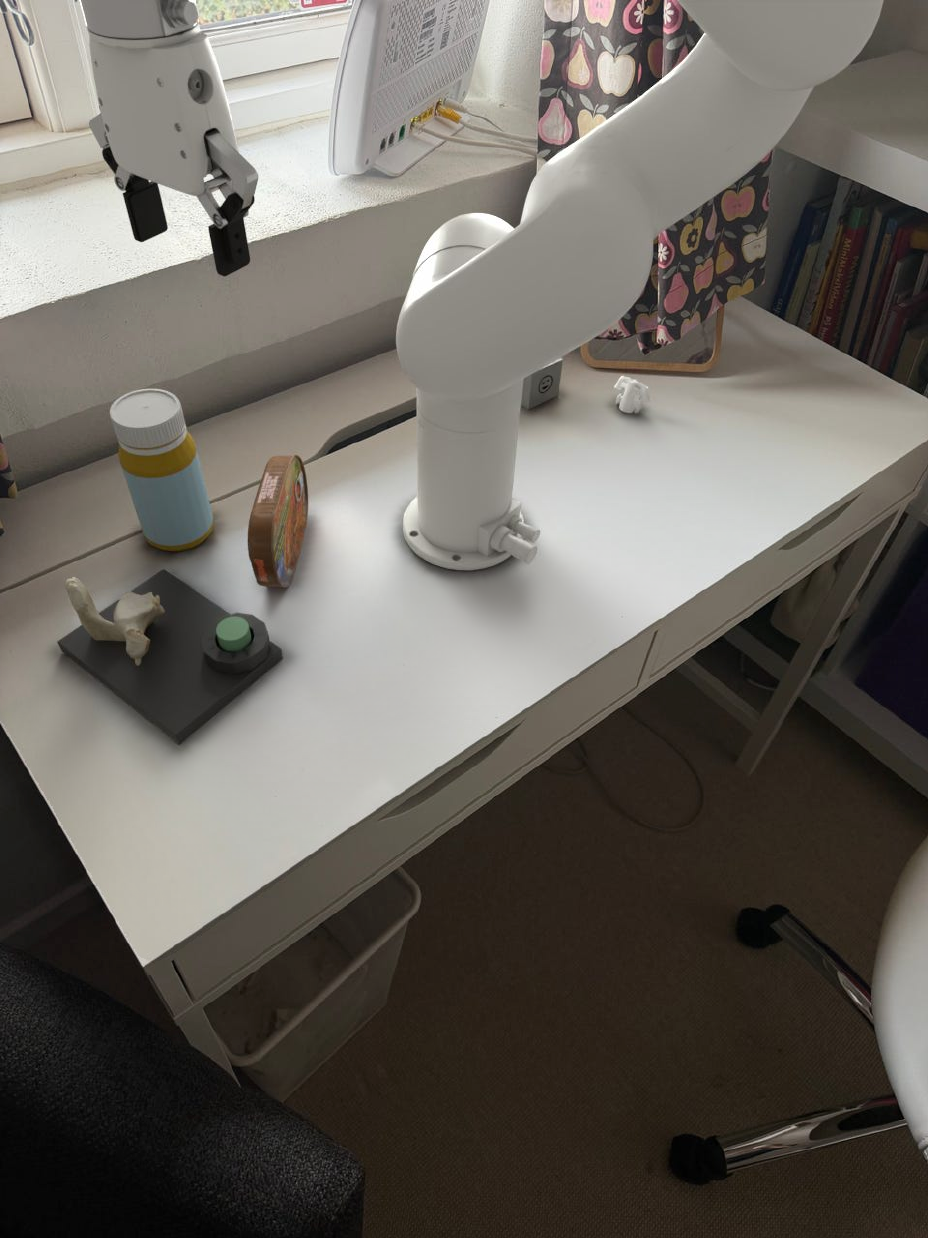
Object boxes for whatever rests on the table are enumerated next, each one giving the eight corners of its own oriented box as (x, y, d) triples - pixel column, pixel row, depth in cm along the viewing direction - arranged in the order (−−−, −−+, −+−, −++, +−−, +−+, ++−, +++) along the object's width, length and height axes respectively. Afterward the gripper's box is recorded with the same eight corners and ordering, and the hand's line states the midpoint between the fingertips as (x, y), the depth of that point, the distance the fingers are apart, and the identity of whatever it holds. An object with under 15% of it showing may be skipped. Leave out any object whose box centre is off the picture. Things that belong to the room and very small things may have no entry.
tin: (286, 606, 84) (274, 541, 78) (253, 604, 84) (239, 539, 78) (312, 502, 94) (304, 437, 88) (283, 501, 94) (272, 436, 88)
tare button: (258, 638, 78) (255, 626, 77) (234, 657, 76) (231, 645, 75) (236, 623, 79) (233, 611, 78) (212, 641, 77) (209, 630, 76)
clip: (648, 413, 107) (654, 386, 104) (640, 419, 106) (646, 392, 103) (614, 397, 109) (619, 370, 106) (605, 403, 108) (610, 376, 105)
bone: (204, 625, 78) (126, 586, 69) (163, 686, 77) (79, 655, 69) (147, 583, 82) (66, 541, 73) (107, 641, 81) (21, 606, 73)
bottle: (198, 559, 88) (165, 435, 77) (133, 548, 88) (90, 424, 77) (225, 514, 92) (197, 391, 81) (162, 504, 93) (126, 380, 82)
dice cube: (501, 390, 109) (503, 354, 105) (530, 376, 111) (534, 341, 108) (528, 409, 107) (531, 373, 103) (558, 395, 109) (562, 359, 105)
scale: (286, 656, 80) (282, 634, 78) (179, 745, 73) (171, 724, 71) (169, 576, 86) (163, 554, 84) (61, 651, 79) (50, 629, 77)
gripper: (270, 19, 59) (300, 265, 72) (100, -24, 66) (155, 209, 78) (186, 45, 55) (234, 302, 68) (14, -3, 62) (87, 239, 74)
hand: (192, 252), depth 73 cm, fingers open, 9 cm apart
